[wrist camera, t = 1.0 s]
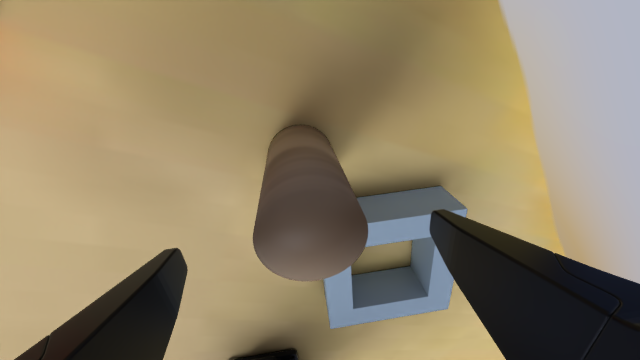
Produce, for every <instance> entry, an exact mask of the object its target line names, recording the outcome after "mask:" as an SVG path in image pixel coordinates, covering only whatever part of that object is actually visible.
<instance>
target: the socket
mask: <svg viewBox="0 0 640 360" xmlns="http://www.w3.org/2000/svg"><path fill="white" fill-rule="evenodd" d="M357 200H358V202H359V204H360V206H361V209H362V211H363V213H364V215H365V217H366V220H367V224H368V238H367V243H366V245H365V247H368V246H375V245H382V244H388V243H395V242H401V241H408V240H413V241H412V252H411V264H410V266H408V267H402V268H395V269H389V270H383V271H377V272H370V273H364V274H358V275H351V266H350V267H348V268H347V269H345V270H344V271H342V272H340V273H339V274H337V275H334V276H332V277H329V278H326V279H323V281H324V290H325V297H326V303H327V310H328V316H329V322H330V328H331V329H333V328H339V327H345V326H351V325H357V324H362V323H368V322H374V321H380V320H386V319H392V318H397V317H403V316H409V315H415V314H421V313H427V312H432V311H438V310H444V309H448V307H449V301H450V296H451V291H452V286H453V281H454V278H453V277H452V275H451V274H450V272H449V270H448V268H447V267H446V265H445V263H444V261H443V259H442V257H441V255H440V253H439V251H438V249H437V247H436V245H435V243H434V241H433V239H432V237H431V235H430V231H429V227H430V219H431V213H432V211H433V210H439V209H445V210H448V211H450V212H453V213H455V214H458V215H460V216H463V217H466V214H467V208H466V207H465V206H464V205H462V204H461V203H460V202H459V201H458V200H457V199H456V198H454V197H453V196H452V195H451V194H450V193H449V192H447V191H446V190H445V189H444V188H443V187H442V186H437V187H430V188H423V189H416V190H408V191H401V192H394V193H387V194H380V195H373V196H366V197H358V198H357Z"/></svg>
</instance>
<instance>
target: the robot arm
mask: <svg viewBox="0 0 640 360" xmlns="http://www.w3.org/2000/svg"><path fill="white" fill-rule="evenodd" d="M429 231H430V235H431V237H432V239H433V241H434V243H435V245H436V247H437V249H438V251H439V253H440V255H441V257H442V259H443V261H444V263H445V265H446V267H447V268H448V270H449V272H450V274H451V275H452V277H453V278H454V280H455V282H456V283H457V285H458V286H459V288H460V289H461V291H462V292H463V294H464V295H465V297H466V299H467V300H468V302H469V303H470V305H471V306H472V308H473V309H474V311H475V312H476V314H477V316H478V317H479V319H480V320H481V322H482V323H483V325H484V326H485V328H486V329H487V331H488V333H489V334H490V336H491V337H492V339H493V340H494V342H495V343H496V345H497V346H498V348H499V349H500V351H501V353H502V354H503V356H504V357H505V359H506V360H640V284H638V283H636V282H633V281H630V280H627V279H624V278H621V277H618V276H615V275H612V274H610V273H607V272H604V271H601V270H598V269H596V268H593V267H590V266H588V265H585V264H582V263H580V262H577V261H575V260H572V259H569V258H567V257H564V256H562V255H559V254H557V253H553V252H552V251H549V250H547V249H544V248H541V247H539V246H536V245H534V244H531V243H529V242H526V241H524V240H521V239H519V238H516V237H514V236H511V235H509V234H506V233H503V232H501V231H498V230H496V229H493V228H491V227H488V226H486V225H483V224H481V223H478V222H476V221H473V220H471V219H468V218H466V217H463V216H460V215H458V214H455V213H453V212H450V211H448V210H445V209H439V210H433V211H432V213H431V219H430V227H429ZM186 276H187V265H186V262H185V260H184V258H183V255H182V253H181V251H180V249H178V248H172V249H166V250H164V251H163V252H161V253H160V254H158V255H157V256H156V257H154V258H153V259H152V260H150V261H149V262H147V263H146V264H145V265H143V266H142V267H141V268H139V269H138V270H137V271H135V272H134V273H132V274H131V275H130V276H128V277H127V278H126V279H124V280H123V281H121V282H120V283H119V284H117V285H116V286H115V287H113V288H112V289H111V290H109V291H108V292H106V293H105V294H104V295H102V296H101V297H100V298H98V299H97V300H95V301H94V302H93V303H91V304H90V305H89V306H87V307H86V308H85V309H83V310H82V311H80V312H79V313H78V314H76V315H75V316H74V317H72V318H71V319H69V320H68V321H67V322H65V323H64V324H63V325H61V326H60V327H59V328H57V329H56V330H54V331H53V332H52V333H51V334H50V336H49V335H48V336H46V337H45V338H43V339H42V340H41V341H39V342H38V343H37V344H35V345H34V346H32V347H31V348H30V349H28V350H27V351H25V352H24V353H23V354H21V355H20V356H18V357H17V358H16V359H14V360H163V358H164V355H165V352H166V349H167V346H168V343H169V340H170V337H171V334H172V331H173V328H174V325H175V322H176V319H177V315H178V312H179V308H180V303H181V299H182V294H183V289H184V285H185V280H186ZM236 360H299V358H298V354H297V351H296V350H287V351H281V352H276V353H270V354H264V355H259V356H253V357H247V358H241V359H236Z"/></svg>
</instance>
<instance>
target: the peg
mask: <svg viewBox="0 0 640 360" xmlns="http://www.w3.org/2000/svg"><path fill="white" fill-rule="evenodd" d="M367 238H368V224H367V220H366V217H365V215H364V213H363V211H362V209H361V206H360V204H359V202H358V200H357V198H356V196H355V194H354V192H353V190H352V188H351V186H350V184H349V182H348V180H347V178H346V175H345V173H344V171H343V169H342V167H341V165H340V163H339V161H338V159H337V157H336V155H335V153H334V151H333V149H332V146H331V144H330V142H329V140H328V139H327V137H326V136H325V135H324V134H323V133H322V132H321V131H319V130H318V129H316V128H314V127H311V126H307V125H294V126H290V127H287V128H285V129H283V130H282V131H280V132H279V133H278V134H277V135H276V136H275V137H274V138H273V140H272V141H271V144H270V146H269V149H268V155H267V160H266V166H265V171H264V177H263V182H262V188H261V193H260V199H259V204H258V210H257V215H256V221H255V226H254V232H253V244H254V249H255V252H256V254H257V256H258V258H259V259H260V261H261V262H262V263H263V264H264V265H265V266H266V267H267V268H268V269H269V270H271V271H272V272H273V273H275V274H277V275H279V276H281V277H284V278H287V279H291V280H296V281H317V280H322V279H326V278H329V277H332V276H334V275H337V274H339V273H340V272H342V271H344V270H345V269H347V268H348V267H350V266H351V265H352V264H353V263H354V262H355V261H356V260H357V259H358V258H359V256H360V255H361V253H362V252H363V250H364V248H365V245H366V243H367Z"/></svg>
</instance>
